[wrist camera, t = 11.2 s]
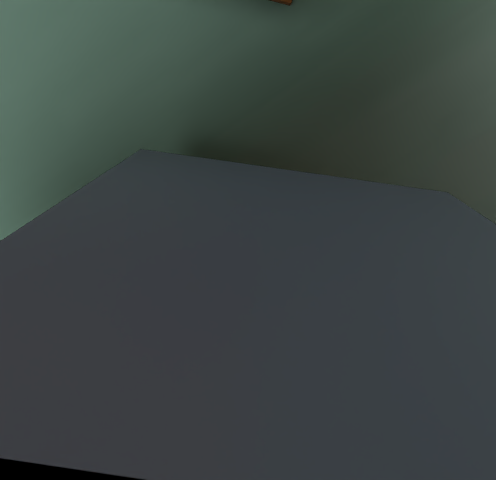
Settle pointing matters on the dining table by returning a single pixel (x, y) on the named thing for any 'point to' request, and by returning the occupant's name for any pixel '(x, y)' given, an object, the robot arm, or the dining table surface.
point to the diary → (283, 1)
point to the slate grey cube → (248, 329)
